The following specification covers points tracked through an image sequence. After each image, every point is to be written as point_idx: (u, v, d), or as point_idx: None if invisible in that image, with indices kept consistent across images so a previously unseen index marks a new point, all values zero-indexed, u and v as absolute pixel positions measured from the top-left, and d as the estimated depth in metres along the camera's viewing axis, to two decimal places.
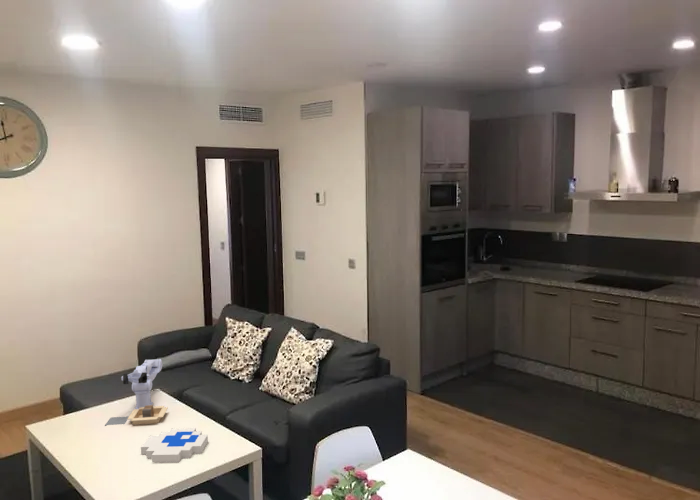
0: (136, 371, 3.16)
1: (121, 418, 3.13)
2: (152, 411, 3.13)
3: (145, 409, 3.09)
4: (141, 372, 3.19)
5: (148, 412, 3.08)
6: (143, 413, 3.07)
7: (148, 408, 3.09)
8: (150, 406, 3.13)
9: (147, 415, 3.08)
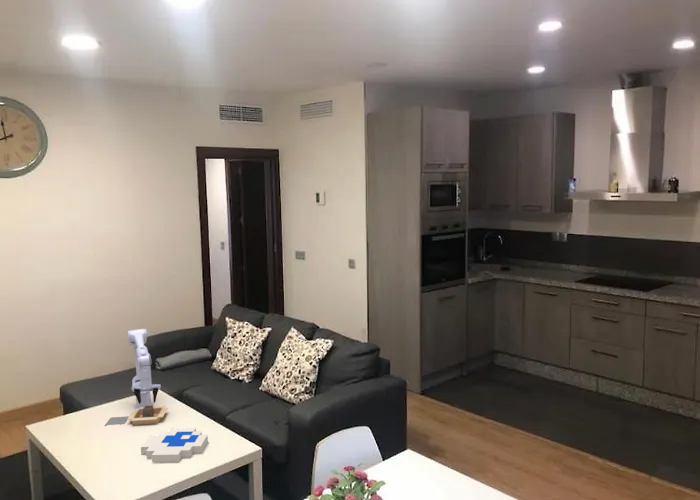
0: (145, 389, 3.06)
1: (121, 418, 3.13)
2: (152, 411, 3.13)
3: (145, 409, 3.09)
4: (149, 381, 3.07)
5: (148, 412, 3.08)
6: (143, 413, 3.07)
7: (148, 408, 3.09)
8: (150, 406, 3.13)
9: (147, 415, 3.08)
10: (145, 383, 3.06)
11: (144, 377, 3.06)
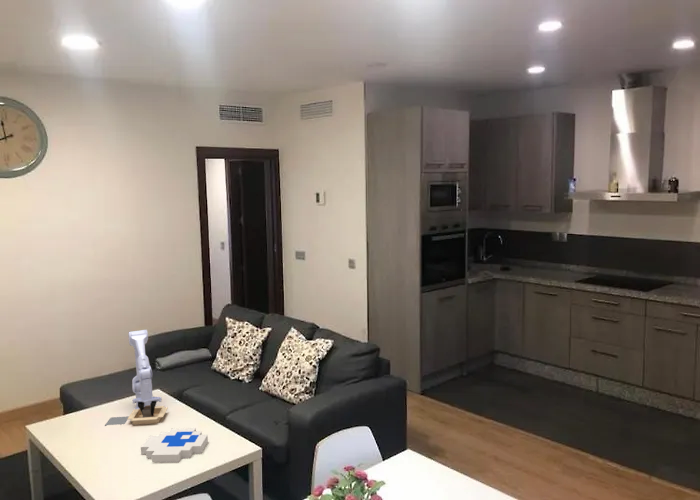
0: (146, 401, 3.07)
1: (121, 418, 3.13)
2: None
3: (145, 409, 3.09)
4: (150, 394, 3.08)
5: (148, 412, 3.08)
6: (143, 413, 3.07)
7: (148, 408, 3.09)
8: (150, 406, 3.13)
9: (147, 415, 3.08)
10: (146, 396, 3.07)
11: (145, 390, 3.07)
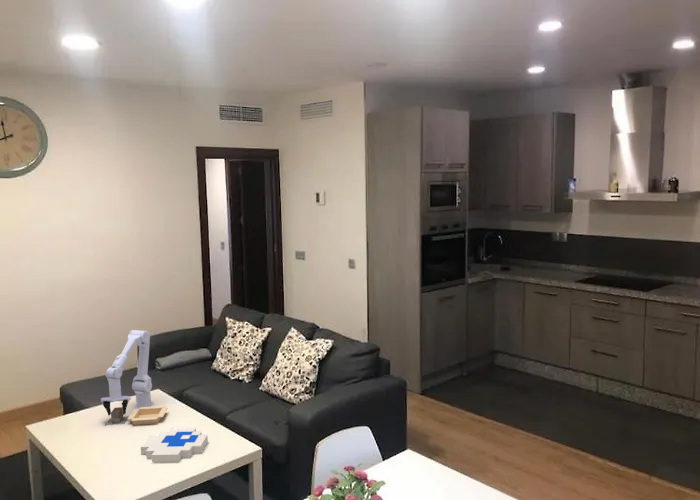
0: (114, 401, 3.05)
1: None
2: (121, 413, 3.11)
3: (114, 411, 3.07)
4: (118, 393, 3.07)
5: (117, 414, 3.06)
6: (112, 415, 3.06)
7: (116, 411, 3.08)
8: (119, 408, 3.11)
9: (116, 417, 3.06)
10: (114, 395, 3.06)
11: (109, 389, 3.06)
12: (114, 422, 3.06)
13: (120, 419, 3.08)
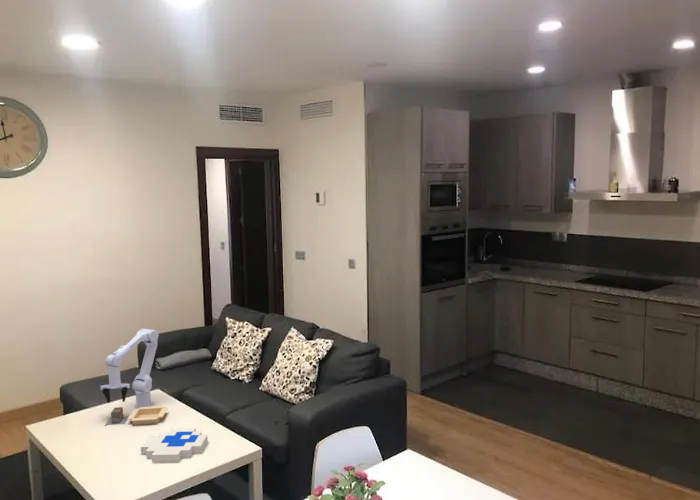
0: None
1: None
2: (121, 413, 3.11)
3: (114, 411, 3.07)
4: (118, 381, 3.10)
5: (117, 414, 3.06)
6: (112, 415, 3.06)
7: (116, 411, 3.08)
8: (119, 408, 3.11)
9: (116, 417, 3.06)
10: (114, 382, 3.09)
11: (109, 376, 3.09)
12: (114, 422, 3.06)
13: (120, 419, 3.08)
